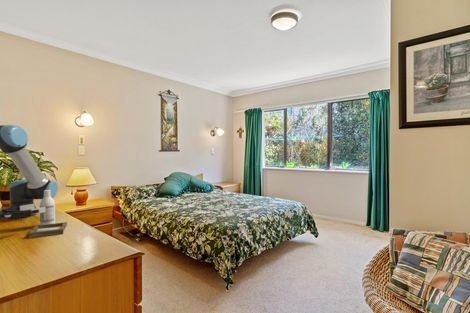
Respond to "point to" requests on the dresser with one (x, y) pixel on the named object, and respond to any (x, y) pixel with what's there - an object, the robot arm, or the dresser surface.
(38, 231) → the tray
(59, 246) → the dresser surface
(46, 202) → the bath foam
